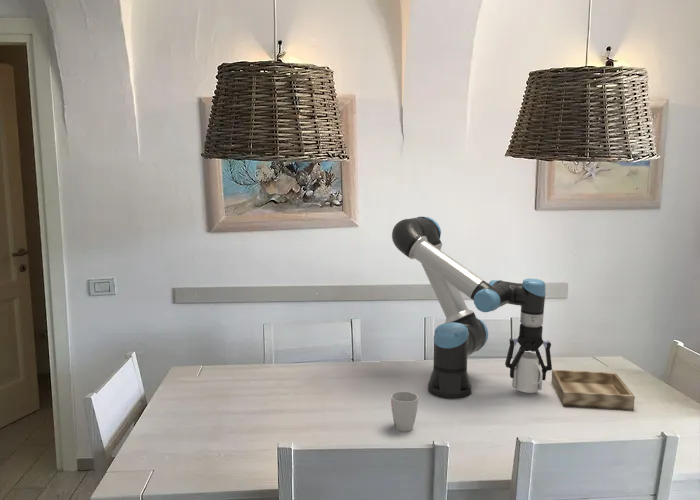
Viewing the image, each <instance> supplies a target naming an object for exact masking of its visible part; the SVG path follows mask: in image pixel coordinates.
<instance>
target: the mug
mask: <svg viewBox="0 0 700 500" xmlns="http://www.w3.org/2000/svg"><path fill="white" fill-rule="evenodd" d="M515 368H516V370H517V372H516V386H515V388H514V389H515V390H517V391H519V392H522V393H527V394H528V393H529V394H533V393H536V392H539V391H540V390H539V387H538V385H539V384H540V383H541V381H542V382H543V380H542V370H541V369H542V368H541V365H540V362H539V359H538V357H537V355H536V352H532V351H525V352H524V353H523V354H522V356H521V358H520V360H519V362H518V363H517V365H516V367H515ZM539 371H540V380H539Z"/></svg>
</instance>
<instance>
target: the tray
mask: <svg viewBox="0 0 700 500" xmlns="http://www.w3.org/2000/svg"><path fill="white" fill-rule="evenodd" d="M550 382H551V385H552V387H553V389H554V391H555V393H556V396H557V397H558V399H559V401H560V403H561V405H562V407H565V408H578V409H596V410H597V409H598V410H610V411H613V410H615V411H627V412H628V411H629V412H633V411H635V410H634V409H635V398H636V397H635V395H634V393H633V392H632V391H631V390H630V389H629V387H628V386H627V385H626V384H625V382H624V381H623V380H622V378H620V376H619V375H618V374H617V373H616V372H608V371H607V372H606V371H605V372H604V371H603V372H602V371H587V370H586V371H585V370H567V369H566V370H564V369H563V370H562V369H552V370H551V381H550Z"/></svg>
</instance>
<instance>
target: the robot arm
mask: <svg viewBox="0 0 700 500" xmlns="http://www.w3.org/2000/svg"><path fill="white" fill-rule="evenodd" d="M441 235H442V230H441V227H440V225H439V224H438V222H437V221H436V220H435V219H434V218H432V217H428V216H417V217H411V218H404V219H402V220H400V221H398V222H397V223H396V224H395V225H394V227H393V229H392V233H391V238H392V242H393V244H394V246H395V248H396V249H397V250H398V251H399V252H401V253H402V254H403V255H404V256H406V257H407V258H409V259H410V260H417V261H418V262H419V263H420V264H421V266H422V268H423V270H424V272H425V274H426V276H427V279H428V281H429V283H430V285H431V288H432V290H433V292H434V294H435V296H436V298H437V301H438V303H439V305H440V307H441V309H442V311H443V314H444V316H445V322H444V323H442V324H439V325H438V326H436V327H435V329H434V334H433V366H432V367H433V368H432V372H431V375H430V377H429V381H428V383H427V392H428V393H430V395H432V396H434V397H437V398H440V399H445V400H459V399H465V398H468V397H469V396H471V395H472V383H471V380H470V376H469V374H468V356H471V355H472V354H474V353H476V352H478V351H480V350H481V349H482V348H483V347H484V346H485V345H486V343H487V341H488V340H489V330H488V327H487V325H486V324H485V322H484V321H483V320H481V319H479V318H477V315H476V313H475V311H474V310H470V309H469V308H468V306H467V305H466V302H465V300H464V297H463V296H462V295H463V294H464V295H465V296H467V297H468V298H470V299H471V300H472V301H473V304H474V306H475V308H476V309H477V310H478V311H480V312H482V313H490V312H494V311H495V310H497V309H498V308H499V309H500V308H501V307H503V306H505V305H507V304H508V305H515V306H519V307H520V319H519V323H520V324H519V331H518V332H519V334H518V337H517V338H512V337H511V338H509V347H508V351H507V354H506V359H505V363H504V365H505V368H509V376H510V379H512V383H511V384H512V385H511V386H512V388H513V389H515V386H516V372H517V370H516V365H517V363H518V362H519V360H520V358H521V356H522V354H523V353H524V352H533V353H536V355H537V357H538V359H539V362H540V368H541V370H542V381H541V383H540V384H539V385H538V387H539V390H538V391H542V387H543V381H546V378H547V377H546V375H547V372H548V371H551V372H552V370H553V366H552V357H551V356H552V355H551V346H552V343H551V341H550V340H543V325H544V315H545V314H544V311H545V304H546V303H545V301H546V300H545V299H546V295H547V294H546V283H545V281H544V280H542V279H538V278H524V279H523V280H522V283H517V282H511V281H510V282H509V281H504V280H501V279H500V280H498V279H492V280H490V281H489V283H488V282H487V281H485V280H484V279H482V278H481V277H479V276H478V275H477V274H475V273H474V272H472V270H469V269H468V268H467V267H465V266H464V265H462V264H461V263H460V262H458V261H457V260H456V259H454V258H453V257H451V256H450V255H448V254H447V253H445V252H444V251H442V247H443V243H442V241H441ZM517 344H519V349H518V351H517V352H516V354H515V356H514V357H513V354H514V350H515V346H517ZM542 345H543V347H544V350H545V358H546V360H545V361H546V365H545V362H544V360H543V358H542V356H541V355H542V354H541V352H540V350H539V348H540V347H541V346H542ZM512 357H513V359H512ZM539 380H540V371H539Z"/></svg>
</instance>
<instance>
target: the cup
mask: <svg viewBox="0 0 700 500" xmlns="http://www.w3.org/2000/svg"><path fill="white" fill-rule="evenodd" d="M390 402H391V413H392V420H393V423H394V426H395V429H396V430H397V431H399V432H410V431H412V430H413V428H414V425H415V422H416V419H417V418H416V416H417V414H418V413H417V412H418V404H419V395H418V394H416V393H414V392H412V391H411V392H410V391H405V390H404V391H403V390H401V391H397V392H393V393H392V394H391V396H390Z"/></svg>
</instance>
